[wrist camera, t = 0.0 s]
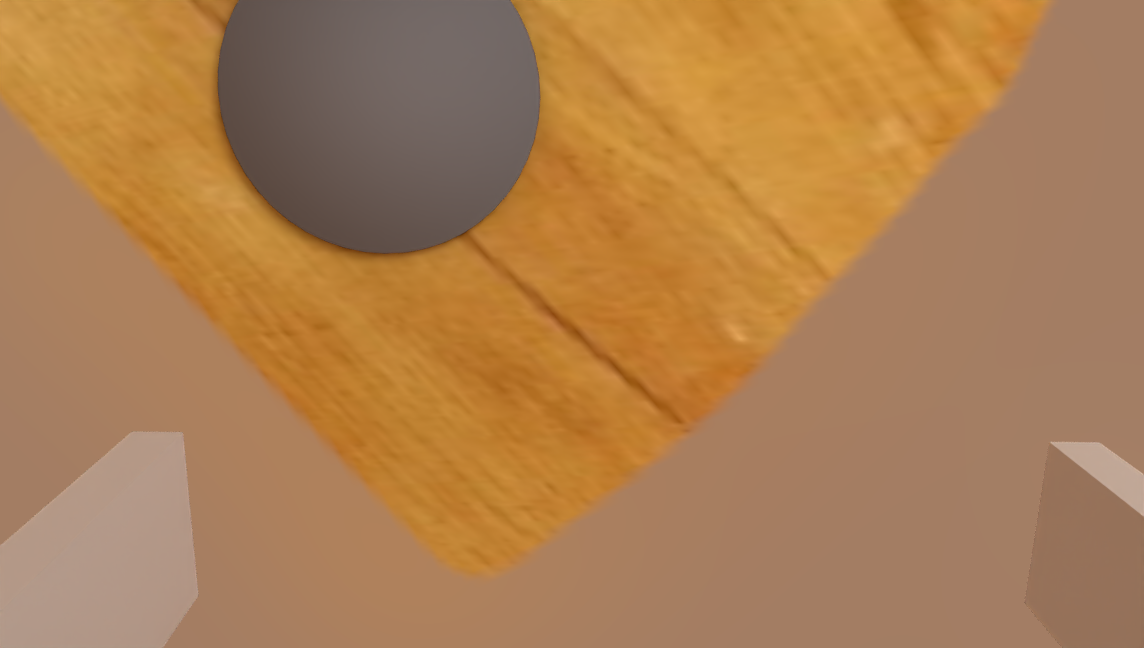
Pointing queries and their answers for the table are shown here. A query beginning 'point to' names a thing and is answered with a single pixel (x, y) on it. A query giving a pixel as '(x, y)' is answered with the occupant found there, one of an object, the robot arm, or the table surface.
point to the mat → (380, 113)
